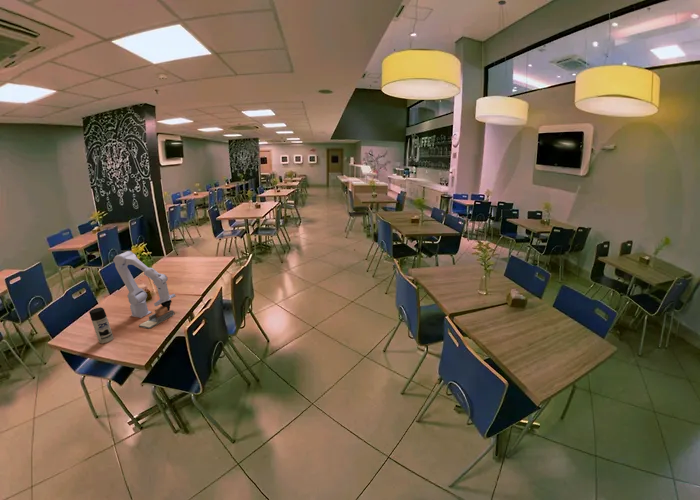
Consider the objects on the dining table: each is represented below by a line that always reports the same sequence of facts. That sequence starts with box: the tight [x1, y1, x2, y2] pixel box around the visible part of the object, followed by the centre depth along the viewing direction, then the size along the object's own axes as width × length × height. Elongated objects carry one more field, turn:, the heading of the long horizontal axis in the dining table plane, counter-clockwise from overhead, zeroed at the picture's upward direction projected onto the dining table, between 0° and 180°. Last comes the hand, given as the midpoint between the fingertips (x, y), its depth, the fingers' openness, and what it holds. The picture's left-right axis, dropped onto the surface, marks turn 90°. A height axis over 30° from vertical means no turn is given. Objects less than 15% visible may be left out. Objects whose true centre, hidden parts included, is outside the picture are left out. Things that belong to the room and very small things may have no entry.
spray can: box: [88, 306, 114, 344], centre depth 165 cm, size 7×7×20 cm
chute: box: [138, 309, 175, 330], centre depth 187 cm, size 9×18×3 cm, turn 162°
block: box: [154, 305, 169, 317], centre depth 190 cm, size 5×5×6 cm
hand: (167, 310), depth 195 cm, fingers closed
